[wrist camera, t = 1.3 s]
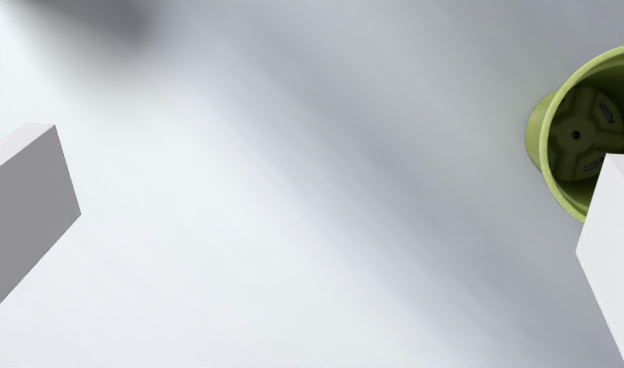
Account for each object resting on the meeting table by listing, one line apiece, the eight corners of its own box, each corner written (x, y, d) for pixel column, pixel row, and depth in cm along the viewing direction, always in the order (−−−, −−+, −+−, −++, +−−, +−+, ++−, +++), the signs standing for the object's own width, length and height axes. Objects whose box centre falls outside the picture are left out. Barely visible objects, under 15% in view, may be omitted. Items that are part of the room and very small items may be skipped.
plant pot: (467, 118, 34) (502, 124, 26) (595, 27, 33) (676, 0, 24) (549, 232, 35) (610, 274, 26) (679, 147, 33) (788, 162, 25)
